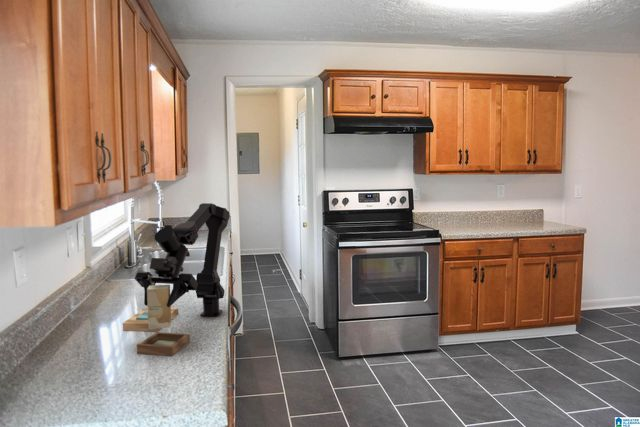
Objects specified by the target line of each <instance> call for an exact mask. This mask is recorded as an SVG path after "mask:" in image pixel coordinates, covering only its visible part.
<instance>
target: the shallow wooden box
mask: <svg viewBox="0 0 640 427" xmlns="http://www.w3.org/2000/svg"><path fill="white" fill-rule="evenodd" d="M178 315H179V307H172V306H171V321H172V320H173V319H174V318H176V317H177V316H178ZM122 330H123V331H130V332H132V331H133V332H135V331H136V332H137V331H139V332H160V330H162V328H156V329H149V325H148V306H146V307H145V308H143V309H141V310H140V311H139V312H137V313H136V314H134V315H132V316H131V317H130V318H128V319H127V320H125V321H124V322H122Z"/></svg>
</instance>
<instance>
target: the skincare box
mask: <svg viewBox="0 0 640 427" xmlns="http://www.w3.org/2000/svg"><path fill="white" fill-rule="evenodd" d="M170 294H171V284H157V285H156V284H155V285H154V286H148V288H147V304H148V305H147V307H148V325H149V329H156V328H161V329H168V328H169V329H170V327H171V325H172V320H171V307H172V305H171V306H170V307H168V306H167V303H168V300H169V297H170Z"/></svg>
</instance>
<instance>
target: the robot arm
mask: <svg viewBox="0 0 640 427" xmlns="http://www.w3.org/2000/svg"><path fill="white" fill-rule="evenodd" d="M230 216H231V214H230V211H229V210H227V208H226V207H221V206H219V205H216V204H215V203H210V202H209V203H206V202H205V203H204V202H203V203H200V204H199V205H198V208H197V209H196V211H195V212H193V214H191V216H190V217H189V218H188V219H187V220H186V221H185V222H183V223H179V224H177V225H176V226H174V227H173V225H171V224H164V227H163V228H160V229H159V230H158V231H157V232H155V234H154V240H155V242H156V243H157V244H158V246H159V247H160V248H161V249H162V251H163V252H164V253H166V255H165V258H161V257H152V258H151V259H150V264H149V269H150V270H154V274H156V275H157V276H154V275H152V273H151V272H150V271H138V272H136V274H135V276H134V280H135V281H136V282H137V284H138V285H140V287H142V288H143V289H144V290H143V291H144V293H143V294H144V297H143V298H144V302H143V303H144V306H146V307H148V304H147V288H148V286H154V285H156V284H164V285H172V289H171V291H170V297H169V300H168V303H167V306H168V307H170V306H171V307H172V306H173V304H175V302H177V301H178V300H179V299H180V298H181V297H182V296H183V295H185V294H186V293H189V292H190V291H195V294H196V297H197V299H202V312H201V313H200V314H199V316H200V317H218V316H220V314H221V313H222V312H223V309H220V299H224V297H225V291H226V289H224V286H222V284H221V278H220V275H219V273H218V266H219V258H220V251H221V250H220V249H221V242H222V234H223V232H224V230H226V228H227V227H228V223H229V220H230ZM203 225H206V227H207V230H208V232H207V240H206V246H205V253H204V254H205V255H204V260H203V267H202V270H201V271H200V272H198V273H197V274H196V278H195V277H194V275H193V274H192V273H183V272H184V267H183V265H184V262H185V259H186V257H190V251H189V249H188V247H186V246H193V245H194V244H195V243H196V241H197V239H198V238H199V230H201V228H202V227H203Z"/></svg>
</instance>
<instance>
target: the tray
mask: <svg viewBox="0 0 640 427" xmlns="http://www.w3.org/2000/svg"><path fill="white" fill-rule="evenodd" d="M190 341H191V339H190V334H189V333H176V332H175V333H174V332H160V331H155V333H153V334H151V335H150V336H148V337H147V338H145V339H144V340H142V341H141V342H139V343H137V344H136V353H137V354H142V355H143V354H144V355H156V356H168V357H169V356H171V357H172V356H174V355H175V354H176V353H178V352H179V351H180V350H181V349H183V348H185V346H187V345H188V344H189V343H190Z"/></svg>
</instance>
